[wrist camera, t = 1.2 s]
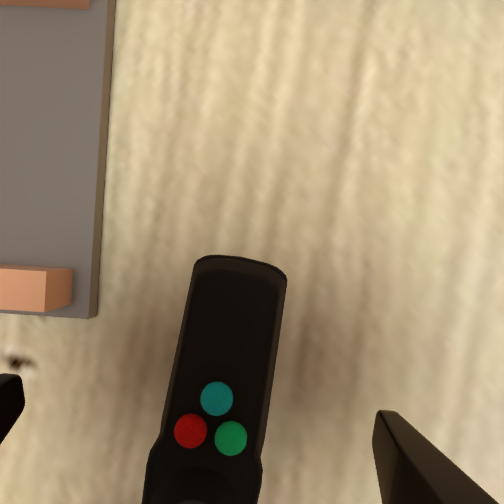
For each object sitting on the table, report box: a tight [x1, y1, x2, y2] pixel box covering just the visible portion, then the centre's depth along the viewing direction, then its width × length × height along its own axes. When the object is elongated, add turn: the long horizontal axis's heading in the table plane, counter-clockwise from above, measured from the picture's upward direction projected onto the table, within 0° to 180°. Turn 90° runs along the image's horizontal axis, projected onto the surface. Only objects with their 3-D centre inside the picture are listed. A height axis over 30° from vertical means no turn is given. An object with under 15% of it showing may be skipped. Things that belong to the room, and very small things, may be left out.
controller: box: [142, 255, 287, 504], centre depth 15 cm, size 4×12×10 cm, turn 170°
